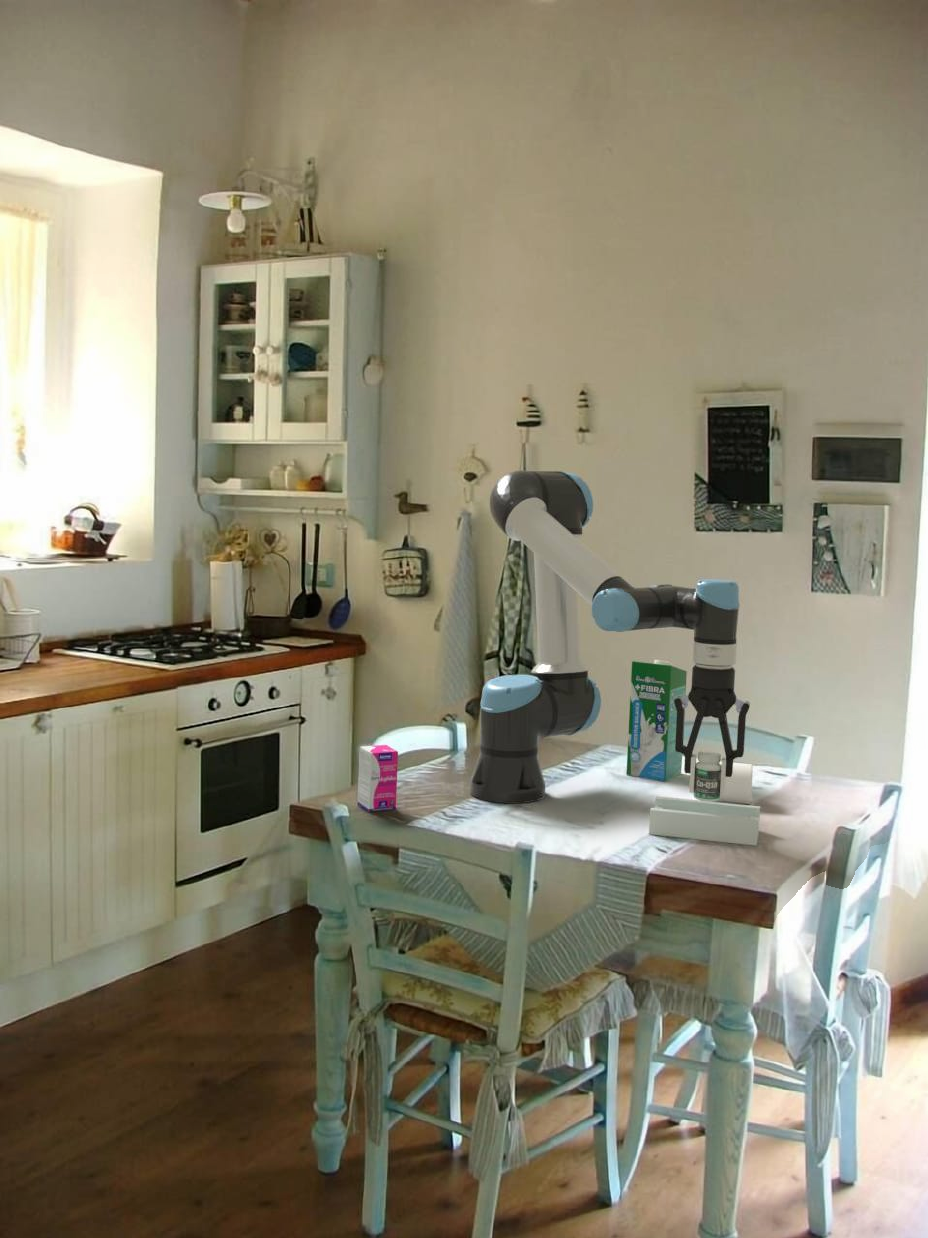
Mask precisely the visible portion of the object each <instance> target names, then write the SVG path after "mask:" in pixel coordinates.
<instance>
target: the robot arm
mask: <svg viewBox="0 0 928 1238" xmlns="http://www.w3.org/2000/svg"><path fill="white" fill-rule="evenodd" d="M489 510H490V514H491V517H492V519H493V521H494V522H495V524H496V525H497V526H498V528H499V529H500V530H501V531H502V532H503V533H504V534H505V535H506V536H507V537H508V538H509V539H511V540H513V541H516V542H520V541H521V542H522V543H523V544H524V545H525V546H526V548H528V549H529V550H530V551H531V552H532V553H533V560H534V561H533V563H534V585H535V611H536V612H535V613H536V633H537V635H536V637H537V638H536V639H537V657H538V662H537V663H536V665H535V666H534V667H533V668H532V670H531V672H530V673H531V675H529V674H513V675H511V674H509V675H508V674H506V675H501V676H498V677H494V678H492V679H489V680H488V681H487V682H485V684H484V685H483V688H482V691H481V692H482V693H481V699H480V738H479V757H478V759H477V761H476V764H475V767H474V770H473V773H472V775H471V778H470V780H469V781H470V783H469V794H470V795H472V796H473V797H475V798H478V799H480V800H483V801H484V800H485V801H488V802H494V803H506V804H508V803H509V804H517V803H519V804H520V803H523V804H524V803H530V802H536V801H539V800H541V799H543V798H544V797H545V796H546V781H545V777H544V775H543V770H542V768H541V763H540V759H539V740H540V739H545V738H546V739H547V738H550V737H551V738H553V737H558V736H572V735H575V734H578V733H581V732H582V733H583V732H585V731H587V730H589V728H592V725H594V723H596V721H597V719H598V717H599V714H600V710H601V706H602V705H601V704H602V702H601V701H602V700H601V699H602V697H601V692H600V689H599V687H597V686H596V685H597V684H596V682H595V681H594V680H593V679H592V678H590V677H589V673H588V672H589V669H588V667H586V666H585V664H583V662H582V661H581V655H580V653H581V651H580V631H579V629H580V627H579V608H578V607H579V601H578V595H579V596H580V597H582V598H583V599H584V600H585V601H586V602H587V604H589V605H590V606H591V608H590V609H591V611H590V612H591V616H592V617H593V619H594V623H595V624H596V626H597V627H598V628H599V629H601V630H602V631H605V632H617V633H622V632H624V633H625V632H629V631H637V630H639V631H640V630H651V629H662V628H679V629H685V630H686V629H687V630H693V652H692V662H693V663H694V665H693V667H692V671H691V673H692V674H691V686H690V687H691V688H690V691H689V692H688V694H687V695H686V694H685V696H683V697H679V696H678V697H676V699H675V700H674V704H675V707H676V710H677V721H676V742H675V750H676V751H677V752H680V753H682V755H683V756H684V768H683V771H684V773H685V774H690V775H689V793H691V794H694V783H695V766H696V763H697V758H698V754H693V752H694V750H695V745H696V742H697V739H698V737H699V733H700V729H701V726H702V722H703V720H704V718H709V717H712V718H715V719H717V721H718V724H719V728H720V732H721V734H720V735H721V739H722V744H723V750H724V753H725V756H722V758H721V762H722V765H721V784H720V795H721V796H724V794H725V784H726V777H731V776H732V773H733V763H734V761H735V759H737V758H742V757H743V756H744V753H745V739H746V737H745V736H746V721H747V714H748V711H749V709H750V705H751V703H750V702H749V701H744V700H741V699H739V698H737V695H736V693H735V681H736V680H735V674H736V670H735V668H734V666H735V664H736V661H737V660H736V659H737V646H738V645H737V630H738V619H739V611H740V610H739V608H740V599H739V598H740V595H739V594H740V593H739V591H740V588H739V585H738V583H737V582H736V581H734V580H731V579H719V578H718V579H717V578H702V579H699V580H698V581H697V582H696V587H695V588H690V587H684V586H677V585H672V584H653V585H650V586H649V587H634V586H632V585H631V584H630V583H629V582H628V581H626V580H625V579H624V578H623V577H622V576H620V575H619V574H618V573H617V572H616V571H615V570H614V569H613V568H611V567H610V566H609V565H608V564H607V563H606V562H605V561H603V560H602V559H601V557H599V556H598V555H597V554H595V553H594V552H593V551H592V550H591V549H590V548H589V547H588V546H587V545H585V544H584V543H583V542H582V541H581V539H582V537H583V527H585V526H586V525H587V524H588V523H589V521H590V517H592V516H593V515H592V514H593V512H594V499H593V495H592V492H591V489H590V487H589V486H588V484H587V482H585V481H584V480H583V479H582V477H580V476H579V475H578V474H575V473H571V472H566V471H561V470H560V471H557V470H556V471H553V470H551V471H550V470H549V471H547V470H544V471H543V470H542V471H541V470H515V471H514V470H513V471H511V472H509V473H507V474H505V475H503V476H502V477H501V478H500V479H499V480H498V481H497V482H496V483H495V484H494V486H493V488H492V490H491V493H490V496H489ZM689 702H690V704H691V705H692V706H693V708H694V710H695V711H696V716H695V719H694V722H693V725H692V728H691V731H690V735H689V739H688V741H687V745H685V744H684V740H685V739H684V738H685V736H684V735H685V716H686V715H685V714H686V709H687V707H688V703H689ZM734 705H735V706H736V708H735V709H736V712H737V713H738V719H737V737H736V749H733V744H732V739H731V734H730V729H729V724H728V717H727V713H728V712H729V711H730V709H731V708H732V707H733V706H734Z"/></svg>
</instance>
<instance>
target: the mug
mask: <svg viewBox="0 0 928 1238" xmlns="http://www.w3.org/2000/svg"><path fill="white" fill-rule="evenodd" d="M719 764H721V765H722V761H720V763H719ZM753 771H754V770H753V764H751V763H741V762H733V773H732V776H731V777H726V784H725V794H724V796H721V795H720V799H719V800H718V801H713V802H720V803H730V804H740V805H751V803H752V802H751V801H752V794H753V793H752V791H753V773H754V772H753Z"/></svg>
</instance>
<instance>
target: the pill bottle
mask: <svg viewBox="0 0 928 1238" xmlns="http://www.w3.org/2000/svg"><path fill="white" fill-rule="evenodd" d="M721 757H722V755H721V753H720V752H717V751H712V750H702V751H699V752H698V753H697V761H698V762H697V761H696V766H695V783H694V793H693V797H694V800H700V801H707V802H713V801H718V800H719V799H720V784H721V764H719V763H720V762H721V761H722V758H721Z"/></svg>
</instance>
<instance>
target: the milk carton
mask: <svg viewBox="0 0 928 1238" xmlns="http://www.w3.org/2000/svg"><path fill="white" fill-rule="evenodd" d="M687 673H688V672H687V670H684V669H682V668H678V667H676V666H673V663H672V662H671V661H666V660H661V659H654V661H653V662H644V661H638V660H637V661H636V660H631V671H630V674H631V675H630V692H629V693H630V697H629V713H628V714H629V715H628V716H629V717H628V733H627V735H628V736H627V751H626V752H627V753H626V755H627V756H626V775H627V776H632V777H636V778H643V779H649V780H654V781H660V782H666V781H668V780H670V779H672V778H674V777H676V776H678V775H681V774H682V765H683V754H682V753H680V752H677V751H676V750H675V742H676V721H677V710H676V707H675V704H674V700H675V699H676V697H678V696H679V697H683V696H686V692H687V691H686V690H687V689H686V688H687V675H688V674H687Z"/></svg>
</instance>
